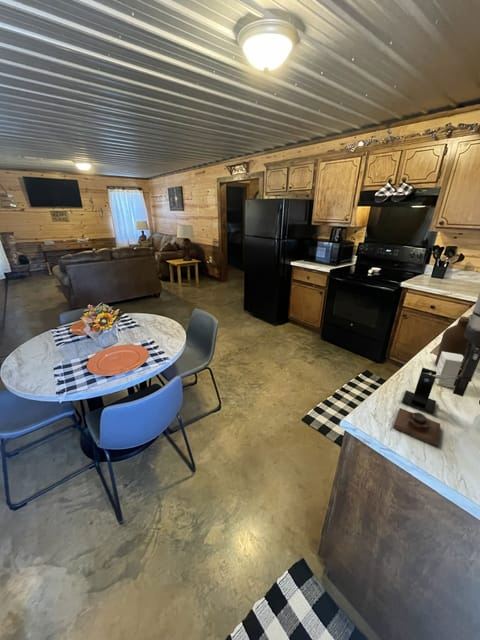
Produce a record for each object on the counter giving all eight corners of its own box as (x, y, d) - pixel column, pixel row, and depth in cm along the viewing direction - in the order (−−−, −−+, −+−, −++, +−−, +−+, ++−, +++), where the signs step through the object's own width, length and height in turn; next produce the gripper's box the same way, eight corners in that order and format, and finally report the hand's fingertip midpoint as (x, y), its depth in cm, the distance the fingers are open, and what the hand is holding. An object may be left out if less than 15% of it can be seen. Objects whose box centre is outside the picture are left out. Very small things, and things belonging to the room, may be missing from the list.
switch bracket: (435, 403, 99) (446, 372, 94) (433, 415, 94) (445, 382, 88) (405, 392, 105) (414, 363, 100) (401, 402, 99) (411, 372, 94)
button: (425, 419, 87) (426, 415, 86) (424, 426, 84) (425, 422, 84) (412, 414, 89) (414, 410, 88) (411, 420, 86) (412, 416, 86)
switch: (467, 377, 89) (465, 370, 89) (467, 384, 86) (465, 377, 85) (424, 376, 98) (423, 370, 97) (422, 382, 94) (421, 376, 94)
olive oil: (443, 372, 119) (462, 322, 109) (428, 360, 128) (443, 312, 119) (467, 373, 118) (487, 322, 109) (450, 360, 128) (467, 313, 119)
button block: (438, 427, 88) (441, 419, 87) (436, 446, 81) (439, 437, 80) (398, 411, 95) (400, 403, 94) (392, 427, 88) (395, 419, 86)
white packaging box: (453, 379, 114) (463, 354, 109) (458, 389, 107) (468, 363, 102) (433, 375, 116) (441, 350, 112) (436, 384, 110) (445, 358, 105)
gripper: (467, 317, 90) (446, 374, 99) (467, 335, 77) (442, 399, 86) (496, 323, 85) (471, 382, 94) (502, 342, 72) (472, 409, 81)
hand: (458, 390), depth 90 cm, fingers closed on switch, 5 cm apart
